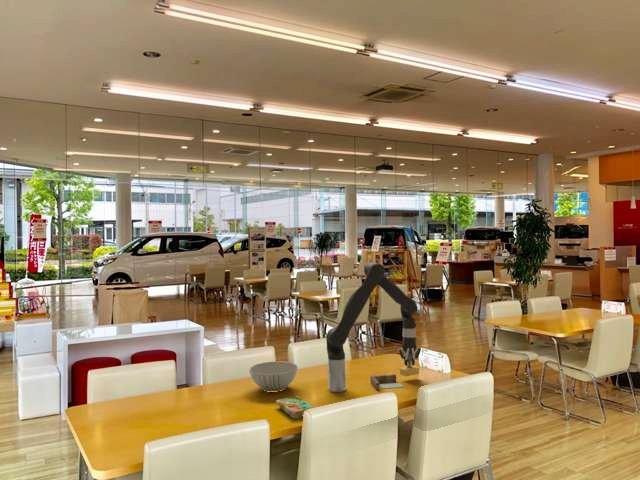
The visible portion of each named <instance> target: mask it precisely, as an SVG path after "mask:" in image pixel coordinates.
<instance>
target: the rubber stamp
mask: <svg viewBox="0 0 640 480" xmlns="http://www.w3.org/2000/svg"><path fill="white" fill-rule="evenodd" d="M407 360H408V366H402V367H400V368H399V375H401V376H403V377H409V376H414V375H419V374H420V367H419V366H415V365H414V366H412V365H411V360H412V354H411V353H409V354H408V358H407Z"/></svg>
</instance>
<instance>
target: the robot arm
mask: <svg viewBox="0 0 640 480" xmlns="http://www.w3.org/2000/svg"><path fill="white" fill-rule="evenodd" d="M363 273H364V275H365V276H366V277H365V280H363V282H362V284H361V285H360V286H359V287H358V288H357V289H355V291H354V292H353V293H352V294H351V295H350V296H349V299H348V300H347V302H346V304H345V306H344V309H343V312H342V317H341V318H340V319H341V320H340V321H339V323H338V324H337V326H336V327H333V328H331V329H329V330H328V331H327V333H326V339H325V341H326V353H327V357H328V358H327V360H328V361H327V362H328V366H327V367H328V371H327V385H328V386H327V388H328V391H329V392H332V393H342V392H344V391H346V390H347V383H346V381H347V377H346V353H345V350H344V344H346V341H347V339H348V336H349V334H350V333H351V331H352V328H353V326H354V325H355V323H356V321H357V320H358V318H359V316H360V314H361V313H362V311H363V310H364V308H365V306H366V304H367V302H368V300H369V299H370V297H371V295H372V293H373V292H374V290H375V288H376V287H377V286H379V287H380V288H381V289H382V290H383V291H384V292H385V293H386V294H387V295H388V296H389V297H390V298H391V299H392V300H393V301H394V302H395V303H396V304H398V305H400V307H399V308H400V314H401V318H402V334H401V335H402V346H401V347H400V348H397V352H398V354H399V356H400V358H401V359H403V360H404V361H403V362H404V363H403V364H404V365H405V366H404V367H406V366H408V360H407V358H408V354H409V353H411V354H412V360H411V366H415V363H416V362H415V360H416V359H418V358H419V356H420V354H421V351H422V348H421V347H419V346H417V331H416V330H417V329H416V319H415V318H414V317H413V316H412V315H413V314H415V313H417V311H418V305H417V303H416V302H415V300H413V298H410V297H409V296H408V295H407V294H406V293H405V292H404V291H402V289H401V288H400V287H399V286H397V285H396V284H395V283H394V282H393V281H391V280H390V279H389V278H388V277H386V276H385V267H384V265H383V264H381V263H378V262H375V261H370V262H366V264H365V265H364V267H363ZM403 352H404V353H403Z"/></svg>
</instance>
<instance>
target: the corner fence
mask: <svg viewBox="0 0 640 480" xmlns="http://www.w3.org/2000/svg"><path fill="white" fill-rule="evenodd" d="M384 383H397V374H395V373H394V374H393V373H392V374H382V375H381V374H380V375H370V384H371V385H372V387H373V388H374V389H375V390H376V391H380V386H379V384H384Z"/></svg>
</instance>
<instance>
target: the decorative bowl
mask: <svg viewBox="0 0 640 480" xmlns="http://www.w3.org/2000/svg"><path fill="white" fill-rule="evenodd" d="M298 369H299V366H298V365H297V364H296V363H294V362H290V361H281V360H280V361H278V360H277V361H266V362H265V361H264V362H260V363H257V364H253V365H252V366H250V367H249V374H250V377H251V379H252V380H253V382H254V383H255V384H256V385H257V386H258V387H259V388H261V389H262V391H263V390H265V391H280V390H283V389H285V390H286V388H288V387H289V386H290V385H291V384H292V382H293V381H294V379H295V377H296V376H297V373H298ZM265 391H264V392H265Z"/></svg>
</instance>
